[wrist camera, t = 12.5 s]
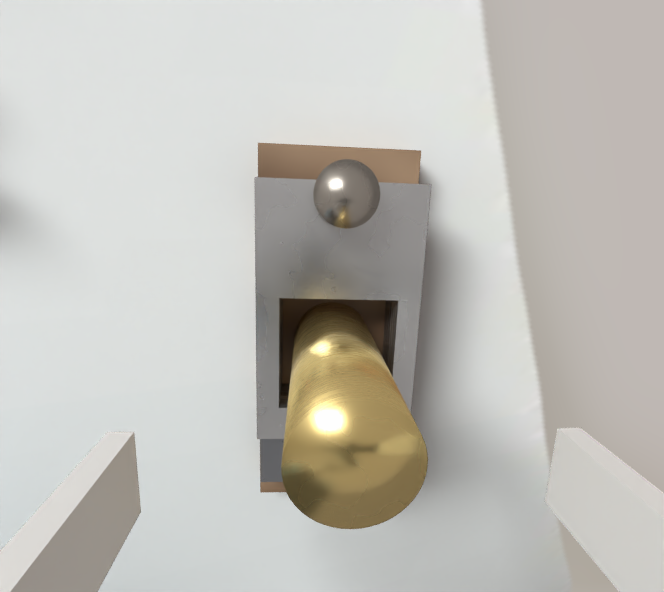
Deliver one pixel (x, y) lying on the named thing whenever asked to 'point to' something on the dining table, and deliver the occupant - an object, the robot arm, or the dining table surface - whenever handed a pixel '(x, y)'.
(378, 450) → the brass pin
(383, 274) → the grey slotted fixture
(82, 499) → the robot arm
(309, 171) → the walnut board
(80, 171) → the dining table surface
